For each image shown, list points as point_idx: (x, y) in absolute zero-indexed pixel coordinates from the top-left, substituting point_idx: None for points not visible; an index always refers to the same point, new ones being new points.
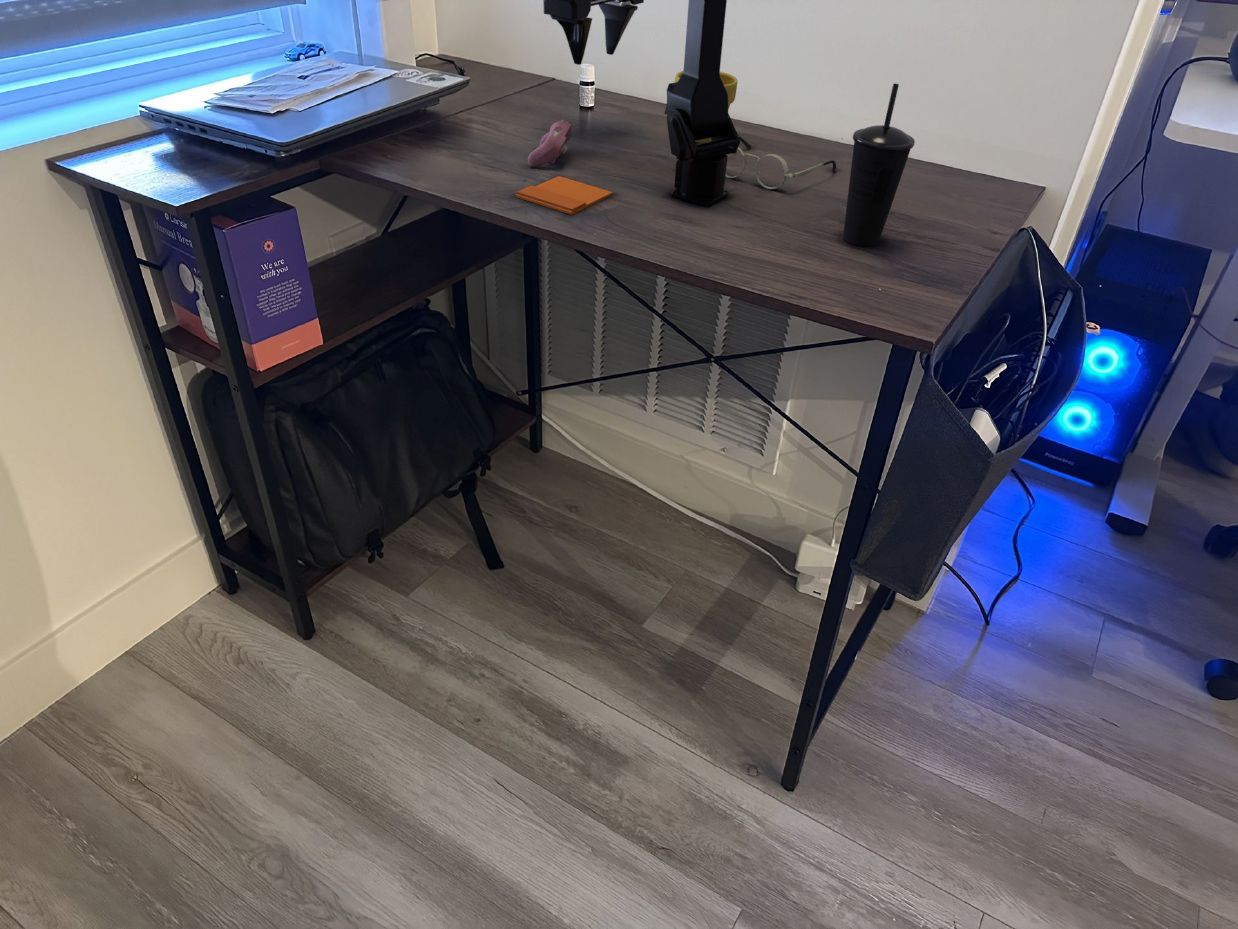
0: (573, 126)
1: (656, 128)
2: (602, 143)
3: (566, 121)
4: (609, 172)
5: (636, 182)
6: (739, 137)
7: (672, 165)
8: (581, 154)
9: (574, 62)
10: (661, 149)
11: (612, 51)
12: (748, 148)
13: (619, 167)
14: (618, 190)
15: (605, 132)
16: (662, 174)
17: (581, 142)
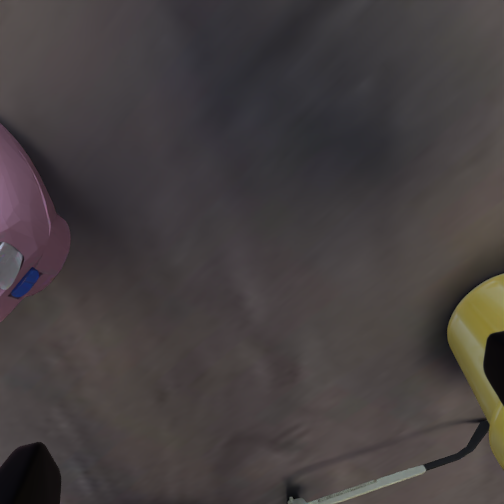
0: (37, 291)
1: (496, 193)
2: (239, 200)
3: (9, 275)
4: (75, 389)
5: (93, 457)
6: (464, 455)
7: (257, 420)
8: (96, 243)
9: (14, 457)
10: (335, 332)
11: (499, 392)
12: (480, 423)
13: (127, 375)
14: None
15: (342, 114)
16: (189, 447)
17: (183, 147)
